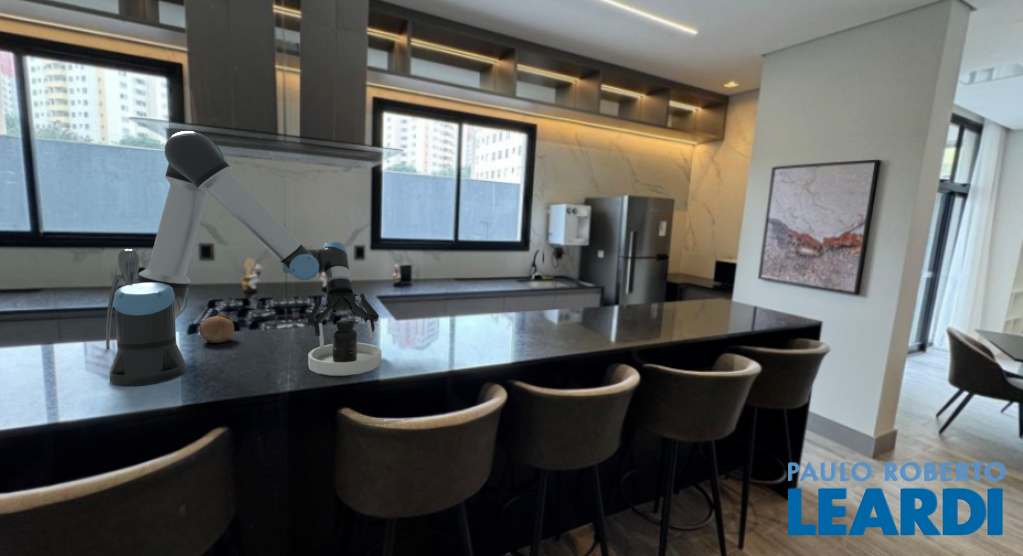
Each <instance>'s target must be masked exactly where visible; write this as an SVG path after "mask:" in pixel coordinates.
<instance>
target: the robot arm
mask: <svg viewBox="0 0 1023 556" xmlns="http://www.w3.org/2000/svg"><path fill="white" fill-rule="evenodd" d="M164 156H165V158H166V161H167V163H168V164H167V168H166V172H165V176H164V178H165V180H166V181H167V182H168V183H169V188H168V193H167V196H166V200H165V203H164V206H163V210H162V214H161V218H160V221H159V226H158V230H157V233H156V235H155V240H154V245H153V246H152V247H153V248H152V251H151V255H150V259H149V262H148V267H147V268H146V269H144V270H142V271H140V272H138V273H139V276H138V279H137V280H136V281H137V283H136V284H132V285H124V286H121V287H120V288H117V289H116V292H115V295H114V301H113V308H114V321H115V333H116V334H115V335H116V345H117V348H116V349H117V350H116V353H115V356H114V358H113V360H112V361H113V362H112V365H111V367H110V370H109V382H110V384H112V385H116V386H123V387H124V386H127V387H130V386H132V387H133V386H134V387H135V386H145V385H146V386H147V385H152V384H156V383H157V384H158V383H162V382H166V381H168V380H169V381H170V380H174V379H177V378H178V377H180V376H182V375H183V374H184V373H186V370H187V368H186V361H185V359H184V356H183V354H182V352H181V351H180V348H179V346H178V345H177V344H178V343H177V333H176V332H177V331H176V319H177V318H178V317H180V316H181V314H182V313H183V312H184V311H185V310H186V307H187V305H188V298H189V297H188V294H189V293H188V292H189V289H190V285H191V279H190V277H188V275H187V271H188V267H189V264H190V260H191V257H192V252H193V249H194V245H195V242H196V241H195V240H196V238H197V235H198V231H199V226H200V223H201V219H202V216H203V212H204V208H205V205H206V201H207V196H208V195H210V196H211V197H213V198H214V199H215V201H217V203H219V204H220V205H221V206H222V207H223V208H224V209H225V210H226V211H227V212H228V213H229V215H232V217H233V218H234V219H235V220H237V221H238V223H240V224H241V226H243V227H244V229H246V231H248V232H249V233H250V235H252V236H253V237H254V238H255V239H256V240H257V241H258V242H259V243H261V244H262V246H264V247H265V248H266V249H267V250H268V251H269V252H270V253H271V254H272V255H273V256H274V257H275V258H276V259H277V260H278V261H279V262H280V263H281V266H282V270H281V271H282V273H283V274H291V275H292V276H293V277H294V278H295V279H297V280H299V281H309V280H312V279H314V278H315V277H316V276H317V275H318V274H319V273H324V278H325V287H326V293H327V295H326V296H322V295H320V294H319V295H317V297H316V298H317V299H316V303H315V305H314V306H313V309H312V310H311V312H310V314H309V315H308V318H307V321H306V326H308V327H310V326H311V327H312V328H313V329H314V330H313V331H314V336H315V337H319V338H318V339H319V347H323V346H325V339H324V331H323V322H324V320H325V319H326V318H327V317H328V316H329V315H330V314H332V313H333V312H334V311H335V310H336V311H348V310H349V311H351V312H353V313H355V314H356V315H358V316H359V317H360V318H361V319H363V320H364V321H365V322H366V324H365V326H366V333H367V338H368V344H372V343H373V340H374V335H373V333H374V331H375V329H376V327H375V323H376V322H378V320H379V317H380V315H379V314H378V313H377V311H376V310H375V309H374V307H372V305H371V304H370V303H369V301H368V300H367V299H366V297H365V294H364V293H360V295H355V294H354V290H353V284H352V279H351V271H350V265H349V259H348V253H347V249H346V246H345V245H344V244H343V243H342V242H339V241H335V240H334V241H332V240H331V241H329V242H326V243H324V244H323V245H322V246H321V248H317V249H307V248H306V247H304V245H303V244H302V243H301V242H300V241H299V240H298V239H297V238H296V237H295V236H294V235H293V234H292V233H291V232H290V231H289V230H288V229H287V228H286V227H285V226H284V225H283V224H282V223H281V221H279V220H278V219H277V217H276V216H274V215H273V213H271V211H269V210H268V208H266V207H265V205H263V204H262V202H261V201H260V200H259V199H258V198H257V197H256V196H254V195H253V194H252V192H251V191H250V190H249V189H248V188H247V187H246V186H245V185H244V184H243V183H242V182H241V181H240V180H239V179H238V178H237V177H236V176H235V175H234V174H233V172H232V166H231V165H230V164H229V163H228V162H227V161H226V160H225V157H224V153H223V152H222V150H221V148H220V147H219V146H218V145H217V144H216V143H214V142H213V141H212V140H211V139H210V138H209V137H207V136H206V135H203V134H202V133H200V132H196V131H189V130H186V131H185V130H184V131H180V132H176V133H174V134H172V135H171V136H170V137H169V138H168V139H167V141H166V142H165V145H164ZM357 302H358V303H357ZM325 303H326V304H328V306H327V307H326V308H325V309H324V310H323V311H322V312H321V313H320V314H319V315H318V313H319V311H320V309H321V307H322V306H323V305H324V304H325ZM358 304H360V305H361V307H360V306H359V305H358ZM317 315H318V316H317ZM316 316H317V318H316Z"/></svg>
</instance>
